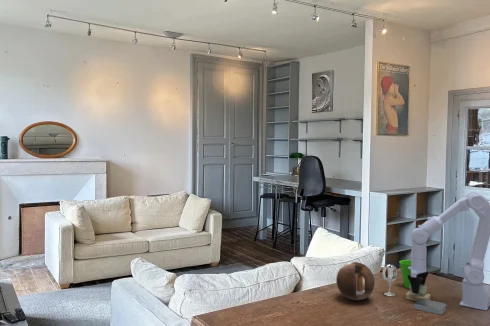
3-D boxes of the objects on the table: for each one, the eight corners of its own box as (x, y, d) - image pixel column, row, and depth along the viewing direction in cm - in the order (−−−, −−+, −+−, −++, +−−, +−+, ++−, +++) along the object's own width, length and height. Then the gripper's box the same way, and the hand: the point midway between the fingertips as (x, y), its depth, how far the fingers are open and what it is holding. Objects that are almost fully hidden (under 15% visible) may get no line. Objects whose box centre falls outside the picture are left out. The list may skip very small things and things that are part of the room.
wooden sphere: (338, 291, 183) (339, 256, 183) (375, 295, 178) (375, 260, 178) (333, 303, 169) (334, 265, 169) (373, 307, 164) (374, 269, 164)
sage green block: (430, 299, 175) (430, 285, 175) (426, 303, 170) (426, 289, 170) (410, 295, 180) (410, 282, 180) (405, 298, 175) (406, 285, 175)
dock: (446, 308, 164) (447, 303, 164) (441, 314, 158) (442, 309, 157) (419, 303, 170) (419, 298, 170) (413, 308, 164) (413, 303, 164)
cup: (424, 289, 186) (423, 264, 186) (403, 289, 186) (402, 264, 186) (417, 283, 195) (416, 259, 195) (397, 284, 195) (396, 260, 195)
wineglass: (387, 297, 177) (388, 268, 176) (379, 292, 182) (380, 264, 182) (399, 296, 178) (400, 267, 178) (391, 291, 184) (391, 264, 183)
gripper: (413, 253, 183) (413, 284, 183) (403, 259, 171) (402, 293, 172) (431, 255, 179) (430, 288, 179) (421, 262, 167) (420, 297, 167)
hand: (418, 290), depth 175 cm, fingers open, 7 cm apart
